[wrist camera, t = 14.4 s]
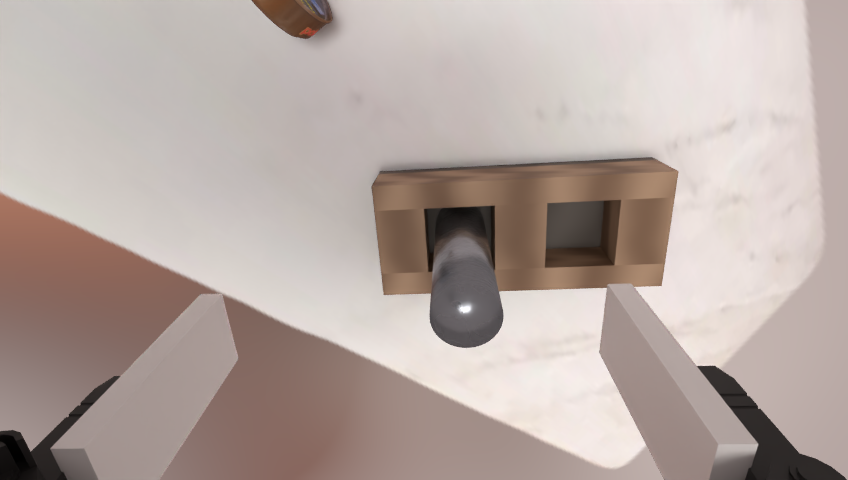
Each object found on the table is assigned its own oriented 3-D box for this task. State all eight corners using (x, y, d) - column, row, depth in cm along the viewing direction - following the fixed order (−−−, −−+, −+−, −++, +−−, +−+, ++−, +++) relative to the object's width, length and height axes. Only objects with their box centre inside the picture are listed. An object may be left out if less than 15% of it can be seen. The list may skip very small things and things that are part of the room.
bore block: (390, 270, 46) (383, 294, 41) (380, 171, 42) (371, 186, 37) (639, 261, 44) (661, 285, 39) (652, 157, 40) (678, 171, 35)
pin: (437, 246, 43) (432, 348, 28) (434, 201, 42) (427, 286, 27) (484, 244, 43) (503, 346, 28) (483, 199, 41) (503, 283, 26)
